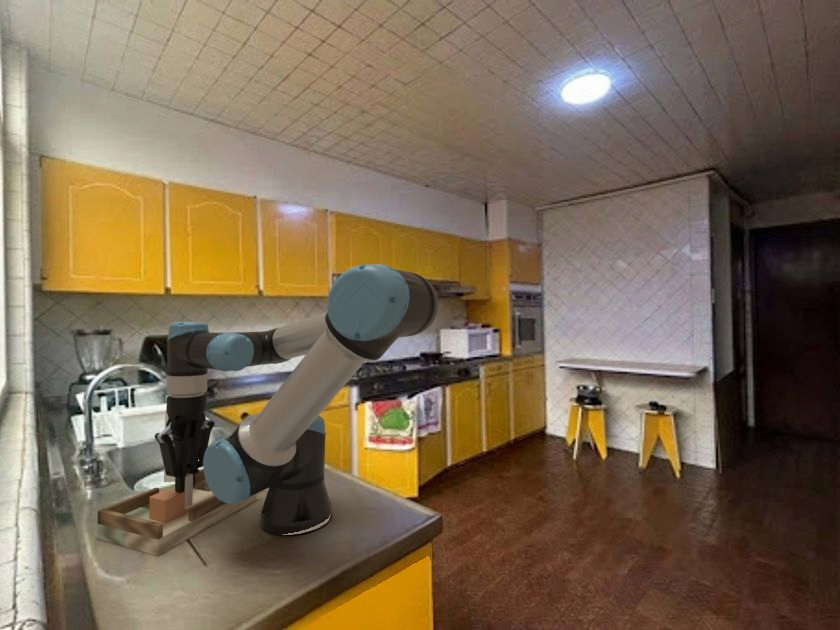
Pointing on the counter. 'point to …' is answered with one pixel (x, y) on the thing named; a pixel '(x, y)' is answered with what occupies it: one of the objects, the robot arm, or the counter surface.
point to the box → (143, 534)
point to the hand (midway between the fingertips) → (184, 505)
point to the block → (166, 505)
